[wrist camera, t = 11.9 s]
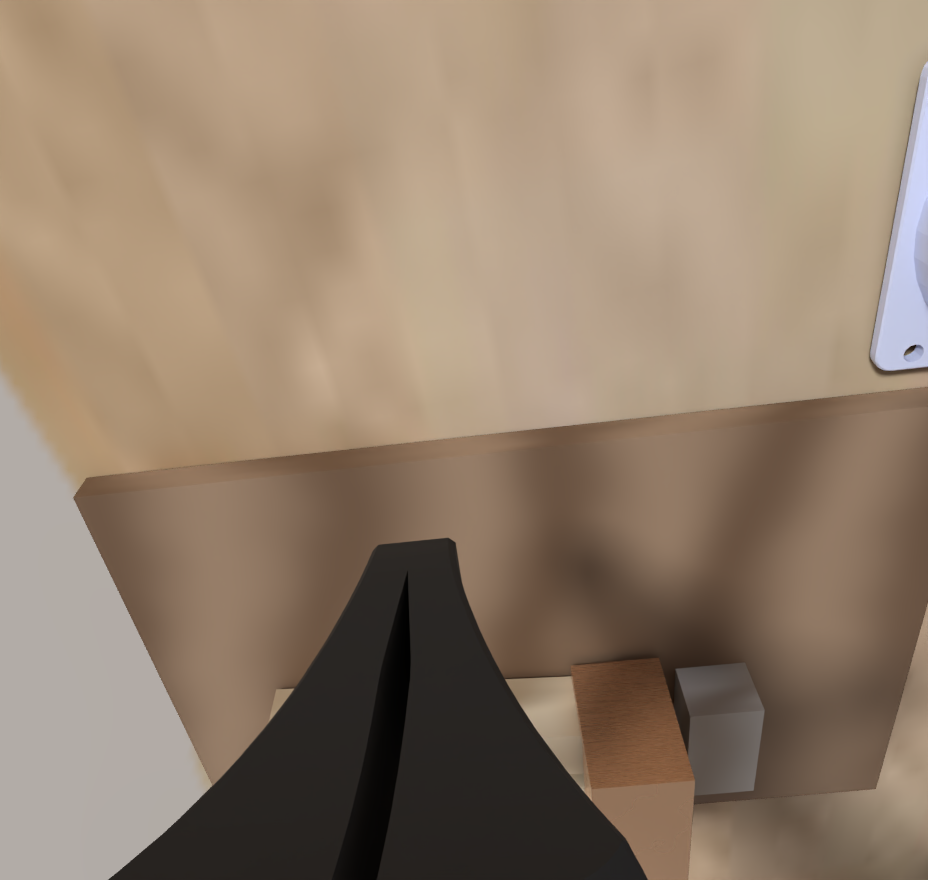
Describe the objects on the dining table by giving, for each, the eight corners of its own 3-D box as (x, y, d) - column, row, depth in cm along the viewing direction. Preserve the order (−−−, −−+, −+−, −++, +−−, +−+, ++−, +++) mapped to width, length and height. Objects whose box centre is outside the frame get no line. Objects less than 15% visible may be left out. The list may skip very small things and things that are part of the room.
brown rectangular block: (658, 657, 26) (695, 780, 22) (655, 772, 30) (686, 896, 26) (570, 665, 26) (591, 789, 23) (577, 778, 30) (596, 903, 26)
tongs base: (964, 383, 22) (1045, 452, 19) (864, 766, 32) (908, 853, 29) (86, 477, 24) (32, 556, 21) (245, 819, 33) (224, 907, 30)
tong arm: (650, 672, 27) (666, 732, 25) (645, 710, 28) (661, 770, 26) (276, 689, 27) (262, 749, 25) (285, 726, 28) (273, 786, 26)
